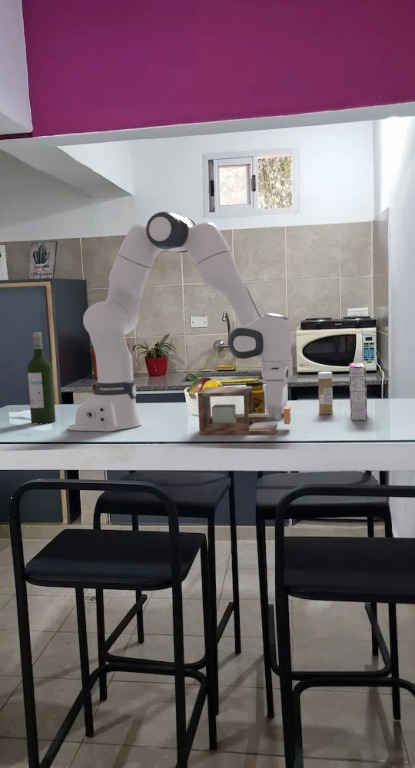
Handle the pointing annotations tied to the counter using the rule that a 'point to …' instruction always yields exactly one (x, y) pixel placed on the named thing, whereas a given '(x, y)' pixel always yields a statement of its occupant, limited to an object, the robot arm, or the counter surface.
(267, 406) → the white cup
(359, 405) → the candy bar box
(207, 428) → the shelf
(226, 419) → the mallet
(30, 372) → the wine bottle
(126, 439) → the counter surface
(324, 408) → the sprinkles bottle
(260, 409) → the condiment
